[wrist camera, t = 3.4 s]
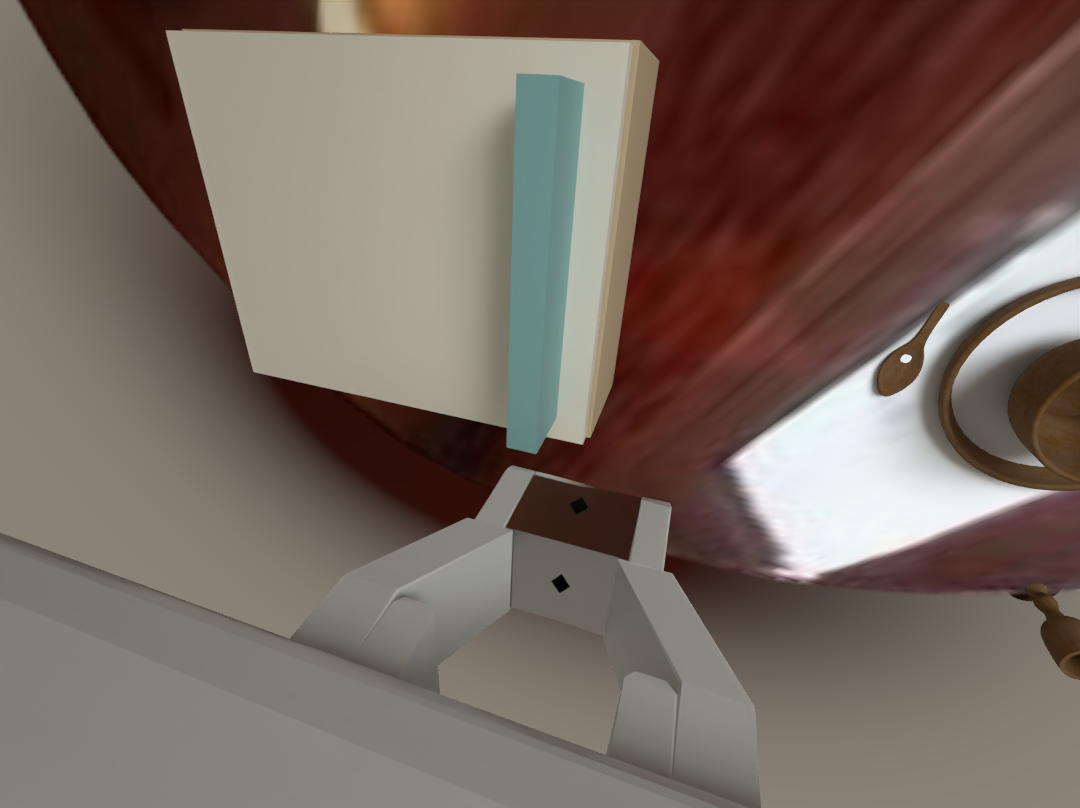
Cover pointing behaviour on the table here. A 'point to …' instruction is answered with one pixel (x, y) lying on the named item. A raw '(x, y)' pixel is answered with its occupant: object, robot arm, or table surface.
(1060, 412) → the place setting
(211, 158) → the lid
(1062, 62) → the table surface
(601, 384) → the box
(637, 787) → the robot arm
